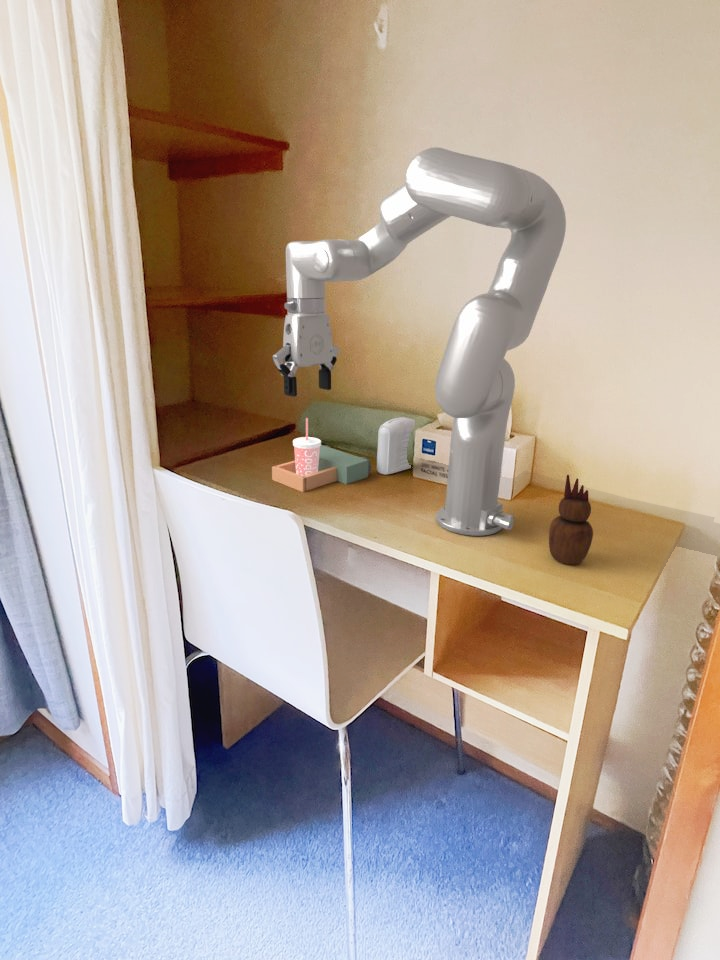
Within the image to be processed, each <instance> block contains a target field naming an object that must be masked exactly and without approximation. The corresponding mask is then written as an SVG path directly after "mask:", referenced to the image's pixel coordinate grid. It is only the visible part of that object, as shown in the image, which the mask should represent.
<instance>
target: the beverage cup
mask: <svg viewBox="0 0 720 960" xmlns="http://www.w3.org/2000/svg"><path fill="white" fill-rule="evenodd" d="M320 445H322V440H321V439H319V438H318V437H313V436H312V437H311V436H309V418H308V417H306V418H305V436H301V437H297V438H294V439H293V440H292V446H293V448H294V449H293V450H294V461H295V466H296V474H298V475H301V476H306V475H309V474H312V473H315V472H318V465H319V451H320Z"/></svg>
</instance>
